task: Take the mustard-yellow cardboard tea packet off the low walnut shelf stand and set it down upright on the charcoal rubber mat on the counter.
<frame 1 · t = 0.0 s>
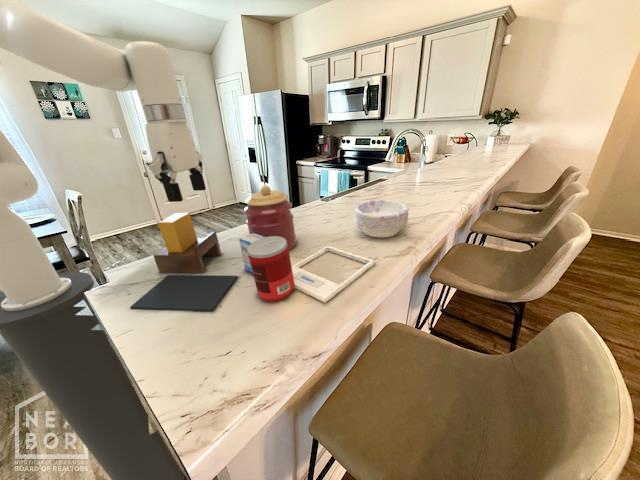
hand: (188, 195, 62), 18 cm above the breakfast bar, tool pointing down, fingers open, 9 cm apart
kitchen canister: (274, 246, 77), on the breakfast bar
counter mat: (188, 292, 58), on the breakfast bar
tea packet: (183, 246, 69), point 5 cm above the breakfast bar, touching shelf stand
medicine box: (262, 271, 64), on the breakfast bar
photo frame: (326, 271, 62), on the breakfast bar, touching canned food
shelf stand: (192, 262, 71), on the breakfast bar
canned food: (277, 291, 56), on the breakfast bar, touching photo frame
white purple bowl: (380, 232, 80), on the breakfast bar
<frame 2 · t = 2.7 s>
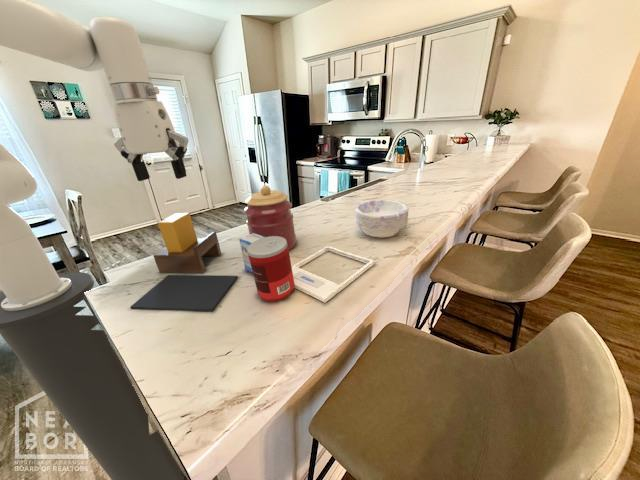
hand: (162, 178, 61), 23 cm above the breakfast bar, tool pointing down, fingers open, 9 cm apart
nothing on the breakfast bar moved.
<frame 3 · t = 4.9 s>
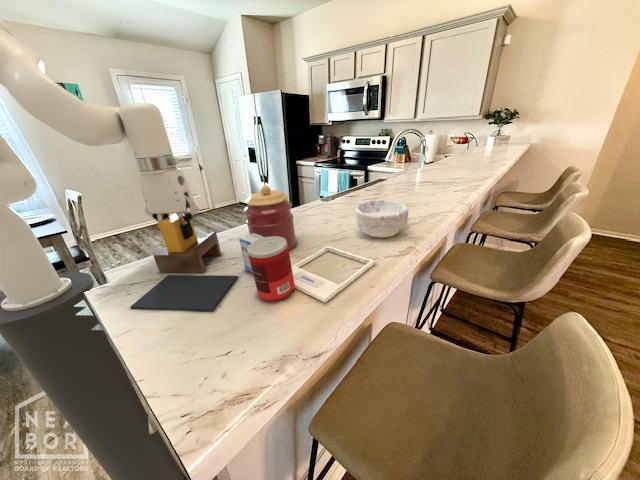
hand: (180, 236, 68), 8 cm above the breakfast bar, tool pointing down, fingers closed on tea packet, 4 cm apart
tea packet: (183, 246, 69), point 5 cm above the breakfast bar, touching gripper, shelf stand
everything else where it was.
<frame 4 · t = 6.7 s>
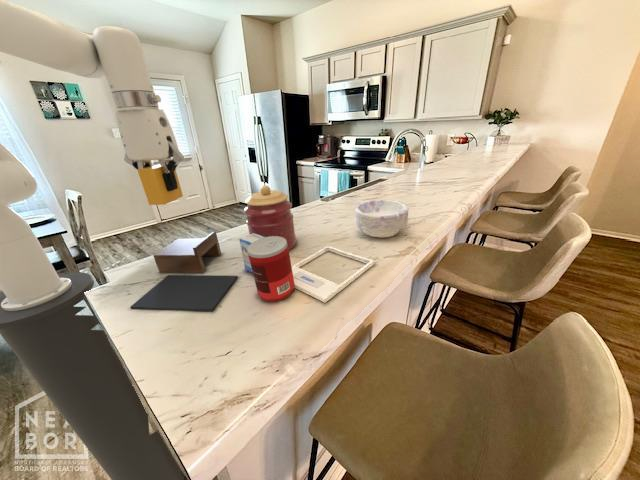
hand: (163, 189, 62), 20 cm above the breakfast bar, tool pointing down, fingers closed on tea packet, 4 cm apart
tea packet: (166, 200, 63), point 17 cm above the breakfast bar, touching gripper
everything else where it was.
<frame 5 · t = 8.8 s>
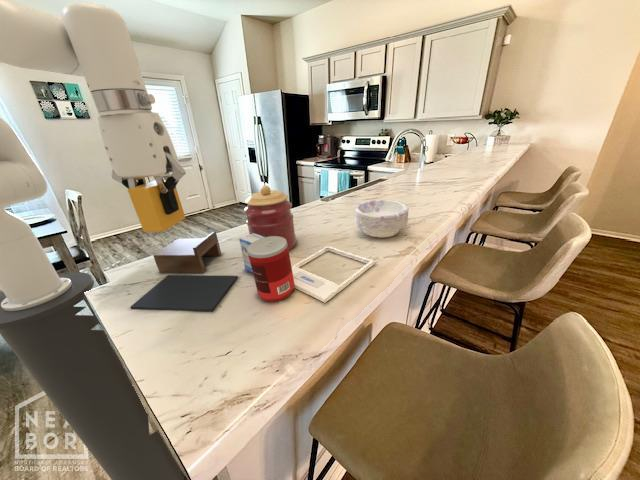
hand: (161, 211, 50), 19 cm above the breakfast bar, tool pointing down, fingers closed on tea packet, 4 cm apart
tea packet: (165, 224, 51), point 16 cm above the breakfast bar, touching gripper
everything else where it was.
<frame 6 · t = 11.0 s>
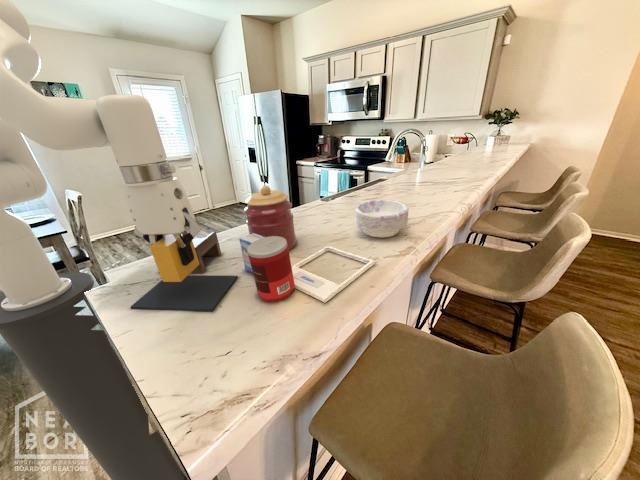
hand: (178, 261, 55), 8 cm above the breakfast bar, tool pointing down, fingers closed on tea packet, 4 cm apart
tea packet: (182, 272, 56), point 5 cm above the breakfast bar, touching gripper
everything else where it was.
when the fingers open (3 cm above the breakfast bar, at t = 12.5 s): tea packet stays where it is, resting on counter mat.
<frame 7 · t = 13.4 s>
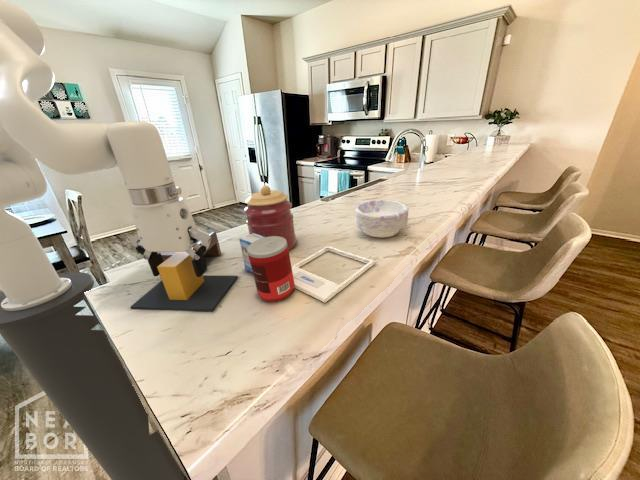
hand: (181, 273, 56), 5 cm above the breakfast bar, tool pointing down, fingers open, 9 cm apart
tea packet: (187, 290, 58), point 1 cm above the breakfast bar, touching counter mat
everything else where it was.
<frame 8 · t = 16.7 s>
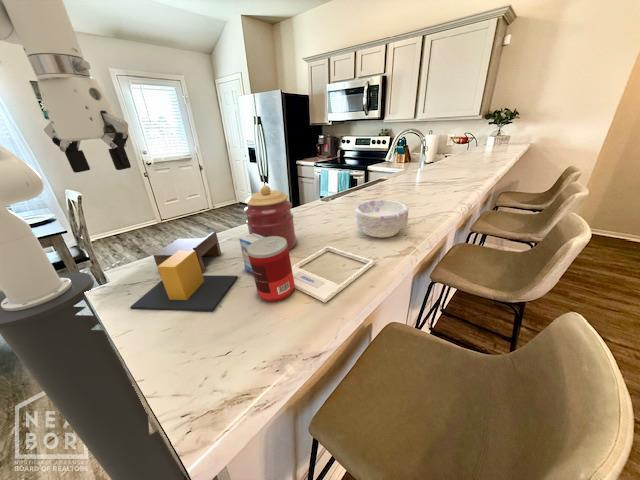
hand: (103, 170, 53), 26 cm above the breakfast bar, tool pointing down, fingers open, 9 cm apart
nothing on the breakfast bar moved.
at the end: tea packet inside the target area (0.1 cm from its centre), point 0.6 cm above the breakfast bar; tea packet tilted 0°; tea packet touching counter mat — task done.
